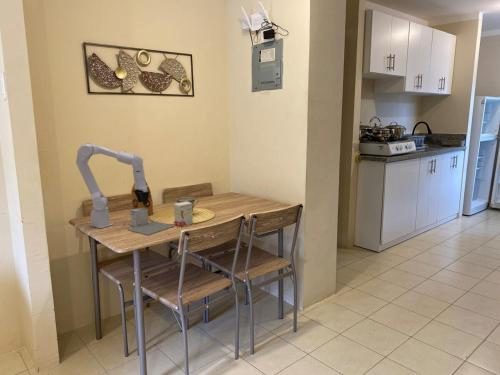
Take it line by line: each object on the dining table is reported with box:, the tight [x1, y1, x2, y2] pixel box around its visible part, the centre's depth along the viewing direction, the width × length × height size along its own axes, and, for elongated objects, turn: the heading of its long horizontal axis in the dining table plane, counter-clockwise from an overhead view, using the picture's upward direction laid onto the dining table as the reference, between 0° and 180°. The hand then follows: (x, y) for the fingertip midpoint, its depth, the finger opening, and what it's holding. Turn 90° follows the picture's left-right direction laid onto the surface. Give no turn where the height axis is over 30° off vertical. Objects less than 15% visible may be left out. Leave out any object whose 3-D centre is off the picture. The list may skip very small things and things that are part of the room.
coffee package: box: [130, 179, 154, 216], centre depth 220 cm, size 10×12×22 cm
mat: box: [127, 220, 176, 236], centre depth 192 cm, size 16×18×1 cm
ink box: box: [173, 201, 194, 228], centre depth 197 cm, size 9×5×12 cm, turn 135°
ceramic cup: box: [176, 196, 200, 215], centre depth 217 cm, size 13×10×10 cm
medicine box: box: [129, 208, 149, 228], centre depth 198 cm, size 8×4×9 cm, turn 141°
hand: (142, 203), depth 201 cm, fingers open, 7 cm apart
